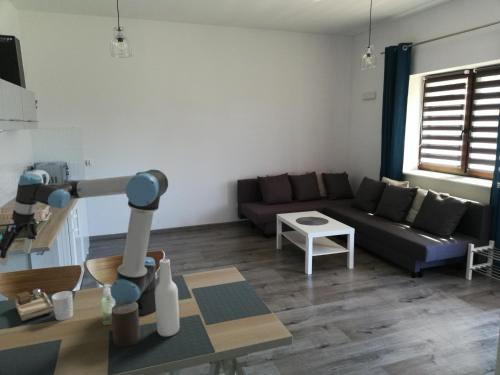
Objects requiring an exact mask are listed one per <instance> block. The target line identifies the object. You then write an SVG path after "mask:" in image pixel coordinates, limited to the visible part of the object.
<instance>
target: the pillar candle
mask: <svg viewBox="0 0 500 375" xmlns="http://www.w3.org/2000/svg"><path fill="white" fill-rule="evenodd" d="M139 316H140V315H138V305H137V303H135V302H122V303H118V302H117V303H116V304H115V305H113V306H112V307H111V322H112V323H111V324H112V325H111V326H112V337H113V338H112V340H113V345H114V346H115V347H118V348H129V347H132V346H134V345H136V344H137V343H138V342H139V341H140V339H141V332H140V320H139Z"/></svg>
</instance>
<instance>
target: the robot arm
mask: <svg viewBox="0 0 500 375" xmlns="http://www.w3.org/2000/svg"><path fill="white" fill-rule="evenodd" d="M42 178H43V177H41V176H40V175H38V174H35V173H28V172H27V173H23V174H21V175H20V177H19V180H18V182H17V190H16V196H15V201H14V206H13V211H12V216H11V220H12V221H13V224H12V225H7V226H6V228H5V232H4V234H3V235H2V238H1V239H0V265H2V266H5V267H6V266H7V265H8V259H9V255H10V250H9V249H10V247H11V246H12V244H13V243H14V241H15V240H16V238H17V237H19V236H20V235H21V234H22V233H24V234H25V236H26V237H25V239H24V243H23V248H22V252H23V253H25V254H27V255H28V254H30V253H31V248H32V244H33V240H36V238H37V236H38V232H37V231H38V230H37V226H36V222H37V221H36V220H37V219H36V218H35V215H36V214H35V213H36V209H37V204H38V203H40V204H43V205H46V206H49V207H51V208H54V209H60V210H63V209H64V208H66V206H68V204H69V203H70V201H71V200H76V199H84V198H85V199H87V198H94V197H105V196H106V197H107V196H116V195H126V198H128V202H127V205H128V207H129V208H130V214H129V222H128V227H127V233H126V240H125V245H124V246H125V247H124V252H123V258H122V264H120V265H119V266H118V267H117V269H116V270H117V272H116V275H115V276H116V277H115V280H114V281H113V282H112V284H111V285H110V288H109V289H110V295H111V297H112V298H113V299H114V301H115V302H117V304H118V303H122V302H135V303H137V305H138V315H139V316H143V315H148V314H151V313H152V314H153V313H155V312H156V304H155V288H156V286H157V273H156V272H157V271H156V270H157V269H156V261H155V259H154V258H153V257H150V256H147V253H148V252H147V251H148V245H149V241H150V235H151V229H152V223H153V218H154V212H156V211H158V209H159V206H160V201H161V196H163V195H164V194H165V193H166V192H167V190H168V187H169V180H168V177H167V176H166V174H165V173H164V172H162V171H161V170H158V169H149V170H146V171H139V172H136V174H135V175H125V176H115V177H114V176H113V177H105V178H97V179H86V180H85V179H84V180H70V181H66V182H64V183H60V184H57V185H53V186H52V185H48V184H46V183H43V180H42Z"/></svg>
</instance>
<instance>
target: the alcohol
mask: <svg viewBox="0 0 500 375" xmlns="http://www.w3.org/2000/svg"><path fill="white" fill-rule="evenodd" d="M170 265H171V260H170V259H169V258H162V259H160V260H159V282H158V283H157V284H156V288H155V304H156V311H155V318H156V319H155V320H156V332H157V333H158V334H159V336H161V337H172V336H174V335H176V334H177V333H178V332H179V331H180V326H181V325H180V312H179V308H180V305H179V292H178V291H179V290H178V286H177V284H176V283H175V282H174V281H173V280H172V278H173V277H172V273H171V266H170Z"/></svg>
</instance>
